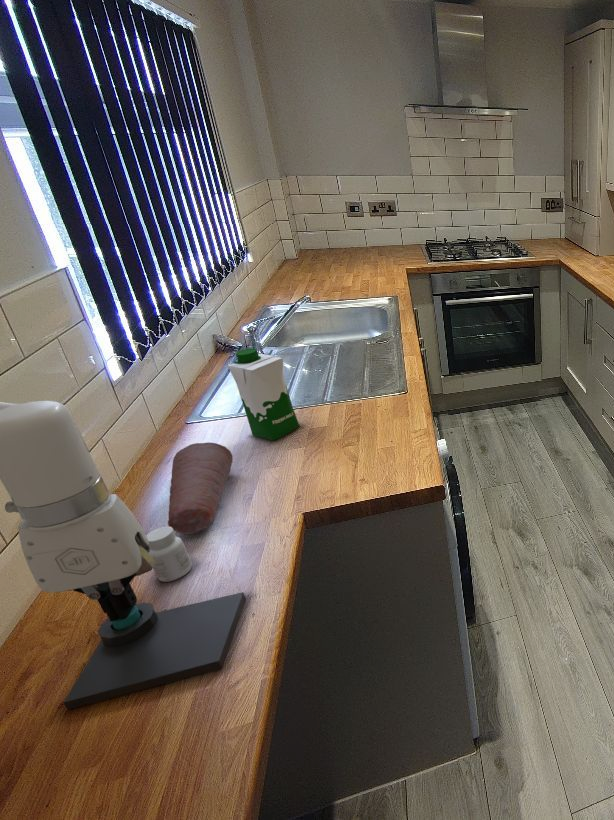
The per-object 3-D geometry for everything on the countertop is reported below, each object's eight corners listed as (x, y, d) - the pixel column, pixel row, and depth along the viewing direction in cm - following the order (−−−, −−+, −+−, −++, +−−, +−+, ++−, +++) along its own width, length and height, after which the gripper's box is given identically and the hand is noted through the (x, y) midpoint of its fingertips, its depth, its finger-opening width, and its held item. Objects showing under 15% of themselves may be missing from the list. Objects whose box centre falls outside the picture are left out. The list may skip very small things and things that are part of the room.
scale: (67, 710, 63) (57, 693, 62) (118, 625, 74) (109, 609, 73) (222, 668, 68) (215, 652, 66) (247, 594, 79) (241, 579, 77)
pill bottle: (190, 558, 86) (174, 520, 83) (195, 572, 83) (178, 533, 80) (156, 572, 83) (138, 533, 80) (160, 587, 80) (142, 547, 77)
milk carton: (279, 419, 129) (257, 343, 121) (306, 425, 126) (285, 348, 118) (246, 436, 122) (219, 357, 114) (273, 444, 119) (248, 362, 111)
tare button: (110, 632, 70) (105, 624, 69) (119, 616, 72) (115, 608, 71) (135, 626, 70) (131, 618, 70) (144, 610, 73) (140, 602, 72)
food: (182, 485, 104) (166, 447, 101) (237, 470, 109) (225, 433, 106) (171, 548, 88) (152, 504, 84) (237, 527, 92) (222, 485, 89)
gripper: (-38, 535, 58) (37, 652, 65) (126, 505, 62) (179, 617, 70) (7, 496, 64) (70, 606, 72) (152, 471, 69) (198, 577, 76)
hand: (124, 611), depth 71 cm, fingers closed
